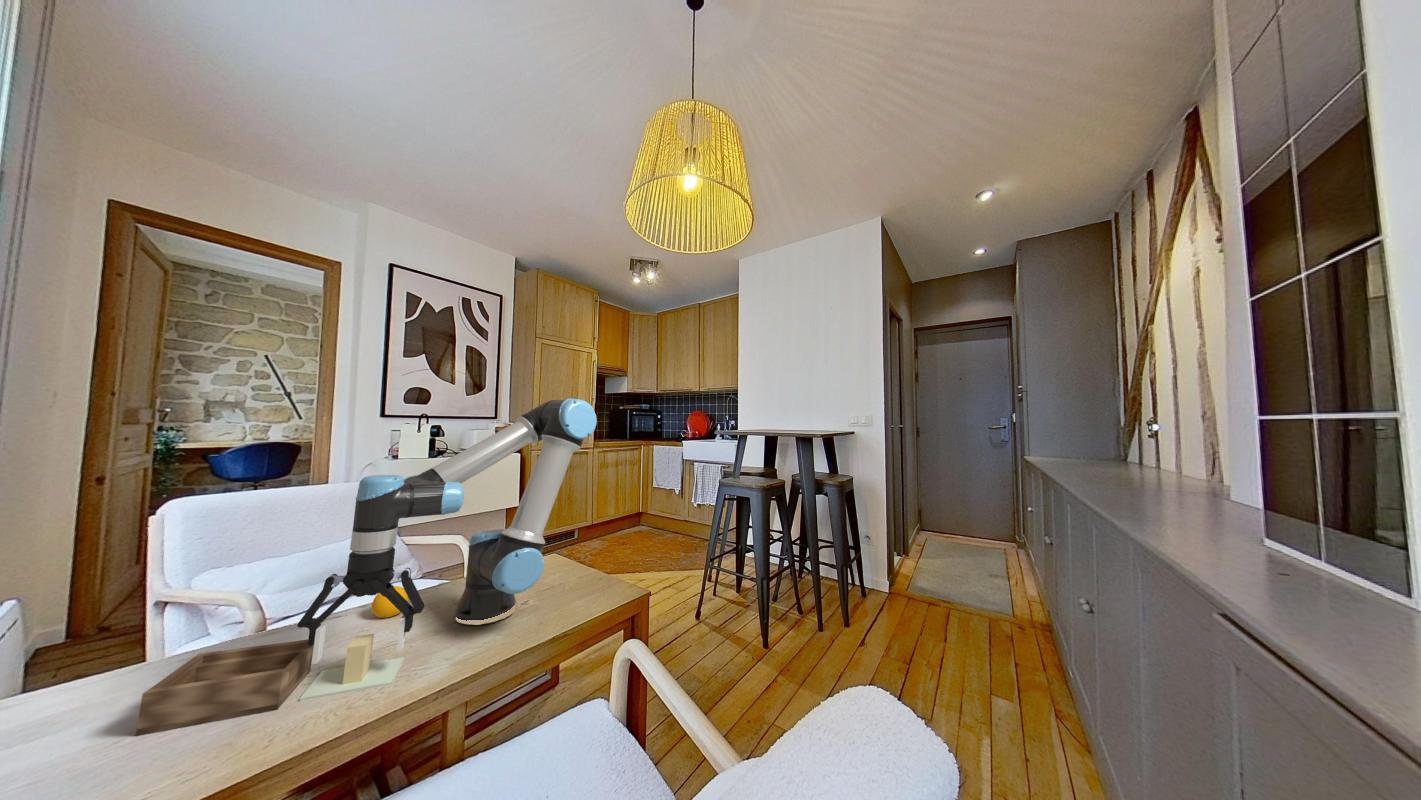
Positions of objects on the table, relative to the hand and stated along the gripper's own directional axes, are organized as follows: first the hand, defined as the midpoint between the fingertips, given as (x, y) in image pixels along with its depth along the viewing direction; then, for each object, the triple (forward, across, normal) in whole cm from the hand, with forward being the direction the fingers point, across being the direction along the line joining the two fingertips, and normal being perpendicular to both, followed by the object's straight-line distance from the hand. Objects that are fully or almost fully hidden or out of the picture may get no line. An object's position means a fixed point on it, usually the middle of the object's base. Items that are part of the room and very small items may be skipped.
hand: (360, 654), depth 83 cm
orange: (+5, +2, -32) cm, 32 cm away
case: (+5, +18, 0) cm, 19 cm away
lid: (+5, 0, 0) cm, 5 cm away
